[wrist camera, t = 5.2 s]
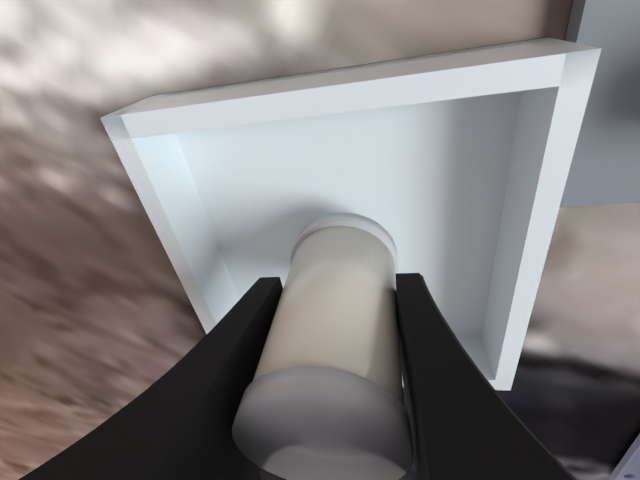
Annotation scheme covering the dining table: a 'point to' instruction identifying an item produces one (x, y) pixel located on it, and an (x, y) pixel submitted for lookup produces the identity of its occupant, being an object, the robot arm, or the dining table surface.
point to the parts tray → (372, 176)
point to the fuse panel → (607, 106)
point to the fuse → (331, 362)
